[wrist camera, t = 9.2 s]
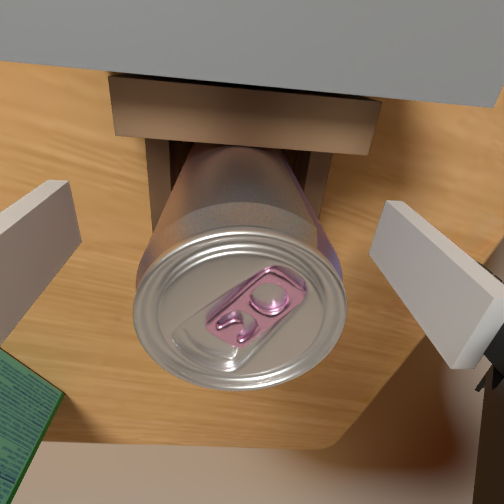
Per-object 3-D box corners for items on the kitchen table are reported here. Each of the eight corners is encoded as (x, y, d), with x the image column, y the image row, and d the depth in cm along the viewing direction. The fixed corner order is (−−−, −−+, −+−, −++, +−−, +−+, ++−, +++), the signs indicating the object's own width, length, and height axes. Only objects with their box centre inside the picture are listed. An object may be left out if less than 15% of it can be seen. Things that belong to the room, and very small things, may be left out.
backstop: (99, 58, 18) (-24, 58, 9) (90, -12, 16) (-68, -88, 8) (377, 85, 19) (493, 108, 11) (392, 24, 18) (543, -7, 9)
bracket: (163, 214, 23) (133, 283, 16) (154, 68, 18) (107, 76, 11) (302, 223, 24) (330, 290, 17) (327, 85, 19) (382, 102, 12)
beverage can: (299, 160, 21) (400, 315, 9) (239, 221, 23) (248, 419, 11) (231, 92, 19) (231, 165, 6) (171, 166, 21) (78, 335, 8)
